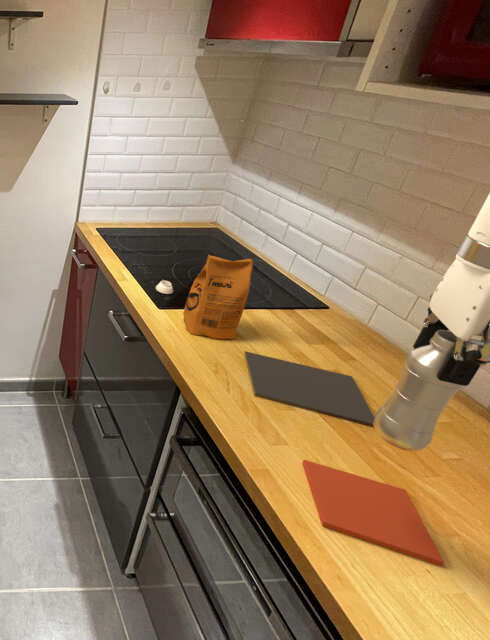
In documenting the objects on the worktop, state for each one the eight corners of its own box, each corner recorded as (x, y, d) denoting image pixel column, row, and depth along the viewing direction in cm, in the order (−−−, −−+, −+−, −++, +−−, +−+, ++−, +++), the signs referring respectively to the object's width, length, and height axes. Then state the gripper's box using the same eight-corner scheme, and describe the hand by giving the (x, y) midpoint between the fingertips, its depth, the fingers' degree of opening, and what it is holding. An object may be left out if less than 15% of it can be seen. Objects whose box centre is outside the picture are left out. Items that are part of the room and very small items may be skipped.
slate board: (350, 378, 105) (352, 376, 105) (377, 428, 92) (379, 425, 91) (244, 353, 113) (245, 351, 113) (254, 395, 99) (255, 393, 99)
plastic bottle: (401, 460, 68) (466, 355, 59) (357, 426, 74) (410, 326, 65) (434, 453, 69) (502, 350, 60) (388, 420, 75) (443, 321, 66)
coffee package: (179, 315, 128) (197, 246, 119) (226, 322, 125) (249, 252, 116) (186, 335, 119) (206, 262, 110) (237, 343, 117) (262, 269, 108)
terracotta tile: (403, 493, 78) (406, 489, 78) (441, 566, 67) (444, 562, 67) (302, 463, 84) (303, 459, 83) (321, 526, 73) (324, 522, 72)
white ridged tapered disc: (160, 295, 138) (175, 294, 139) (162, 287, 137) (177, 286, 137) (152, 287, 143) (167, 286, 143) (154, 279, 141) (169, 278, 142)
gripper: (597, 295, 49) (510, 416, 56) (500, 237, 63) (441, 339, 71) (504, 280, 52) (433, 397, 59) (431, 228, 66) (382, 327, 74)
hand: (438, 365), depth 65 cm, fingers closed on plastic bottle, 6 cm apart
